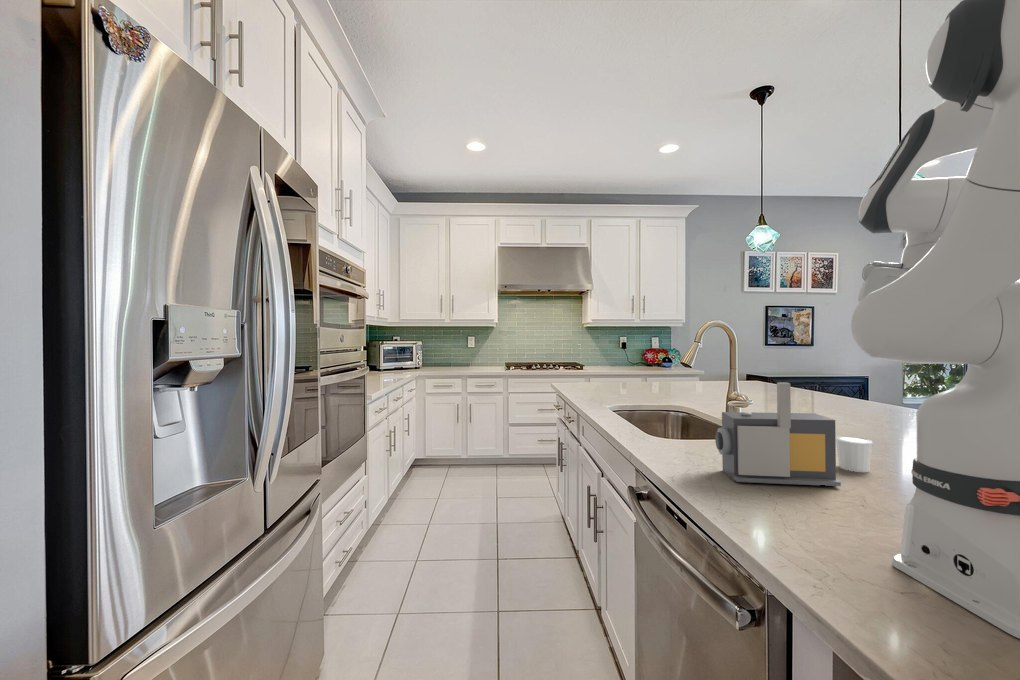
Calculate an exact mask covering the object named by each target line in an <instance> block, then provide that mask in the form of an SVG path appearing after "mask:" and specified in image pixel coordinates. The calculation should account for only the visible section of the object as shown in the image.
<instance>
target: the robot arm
mask: <svg viewBox="0 0 1020 680" xmlns="http://www.w3.org/2000/svg"><path fill="white" fill-rule="evenodd" d="M925 72H926V76H927V79H928V87H929V89H930V90H932V92H934V93H935V94H936V95H937V96H939V97H940V98H941V99H943V101H941V102H940V103H939V104H938V105H937V106H935V107H934V108H931V109H929V110H927V111H926V112H923V113H921V114H920V115H919V116H918V117H917V119H915V121H914V122H913V123H912V124H911V126H910V127H909V128H908V130H907V131H906V133H905V134H904V136H903V137H902V139H901V140H900V142H899V143H898V144H897V147H896V149H894V152H893V153H892V155H891V156H890V158H889V159H888V160H887V163H886V164H885V166H884V168H883V169H882V171H881V172H880V174H879V175H878V177H877V179H876V180H875V181H874V182H873V183H872V185H870V186H869V188H868V190H867V191H866V192H865V194H864V196H863V198H862V200H861V201H860V204H859V208H858V222H859V224H860V225H861V226H862V227H864V228H865V230H867V231H868V232H870V233H872V234H887V233H888V234H889V233H905V237H906V244H905V246H904V249H903V251H902V256H901V260H900V261H901V262H900V263H898V262H882V261H873V262H871V263H868V264H866V265H864V267H862V273H861V277H862V279H863V283H862V285H861V287H860V290H859V294H858V298H857V301H858V302H859V303H858V304H857V306H856V307H855V309H854V311H853V314H852V317H851V322H850V323H851V324H850V329H851V333H852V337H853V339H854V340H855V343H856V345H857V346H858V347H859V348H860V350H862V351H863V353H865V354H866V355H868V356H869V357H871V358H875V359H880V360H887V361H892V362H898V363H899V362H900V363H905V364H912V365H914V364H915V365H918V364H919V365H921V364H922V365H925V364H928V365H929V364H931V365H936V364H937V365H942V364H943V365H968V366H967V369H966V372H965V375H964V376H963V377H962V379H961V380H960V381H959V382H958V383H957V384H955V386H953V387H952V388H950V389H947V390H943V391H940V392H938V393H935V394H932V395H931V396H930V397H927V398H926V399H925V400H923V402H922V403H921V404H920V405H919V407H918V408H917V411H916V421H915V422H916V457H915V458H914V459H913V460H912V467H911V472H910V473H911V475H912V484H913V486H914V487H915V491H914V494H913V496H912V498H911V500H910V501H909V503H907V504H906V507H905V511H904V519H903V526H902V535H901V536H902V537H901V544H900V545H901V546H900V551H899V553H897V554H895V555H893V557H892V562H891V563H892V566H893V567H894V568H895V569H897V570H899V571H901V572H902V573H904V574H906V575H908V576H909V577H912V579H914V580H916V581H918V582H920V583H922V584H923V585H925V586H926V587H929V588H930V589H931V590H933V591H935V592H937V593H938V594H941V595H942V596H944V597H945V598H948V599H949V600H951V601H952V602H954V603H956V604H958V605H959V606H961V607H962V608H964V609H966V610H968V611H970V613H973V614H975V615H976V616H978V617H980V618H981V619H983V620H984V621H987V622H988V623H990V624H991V625H993V626H995V627H997V628H998V629H1000V630H1002V631H1004V632H1005V633H1007V634H1009V635H1011V636H1013V637H1014V638H1017V639H1019V640H1020V0H961V1H959V3H958V4H957V5H956V6H955V7H954V8H952V9H951V10H950V12H948V14H947V16H946V18H945V20H944V22H943V23H942V24H941V25H940V27H939V29H938V30H937V31H936V33H935V35H934V37H933V39H932V40H931V42H930V45H929V47H928V50H927V54H926V61H925ZM973 150H975V153H974V155H973V157H972V158H971V162H970V164H969V167H968V170H967V172H966V174H965V175H966V176H948V177H931V178H929V177H927V178H914V177H915V176H916V175H917V173H918V172H919V170H920V169H921V168H922V167H923V166H925V165H927V164H928V163H930V162H933V161H935V160H938V159H941V158H945V157H948V156H952V155H955V154H959V153H964V152H967V151H973Z"/></svg>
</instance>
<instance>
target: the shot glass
mask: <svg viewBox="0 0 1020 680" xmlns="http://www.w3.org/2000/svg"><path fill="white" fill-rule="evenodd" d="M835 438H836V448H837V449H836V450H837V451H836V452H837V458H838V466H839V468H840V469H842V470H845V471H848V470H849V471H848V472H853V471H854V473H869V472H870V470H871V469H870V468H871V461H872V450H873V440H871V439H867V438H863V437H855V436H835Z"/></svg>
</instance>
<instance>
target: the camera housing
mask: <svg viewBox="0 0 1020 680" xmlns="http://www.w3.org/2000/svg"><path fill="white" fill-rule="evenodd" d="M737 426H774V427H777V412H757V411H756V412H751V411H750V412H749V411H722V412H721V427H718V428H717V430H716V433H715V435H714V438H715V441H714V442H715V446H716V449H717V450H718V453H719V454H720V455H721V456H722V458H721V459H722V462H721V463H722V471H723V473H725V475H727V476H728V477H729V478H730V479H731V481H733V482H734V483H755V484H776V485H777V484H780V485H796V486H797V485H799V486H800V485H801V486H805V485H806V486H820V485H825V486H826V487H841V486H842V485H841V484H842V483H841V481H839V480H838V479H837V463H836V462H837V459H836V457H837V455H836V452H837V451H836V450H837V449H836V448H837V442H836V419H833V418H830V417H827V416H824V415H821V414H819V413H815V412H813V413H811V412H810V413H809V412H808V413H807V412H803V413H801V412H791V428H789V432H790V477H781V476H756V475H739V474H738V436H737ZM825 486H824V487H825Z"/></svg>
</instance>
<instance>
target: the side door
mask: <svg viewBox="0 0 1020 680" xmlns="http://www.w3.org/2000/svg"><path fill="white" fill-rule="evenodd" d="M776 404H777V405H776V411H777V412H776V413H777V427H774V426H737V436H738V474H739V475H756V476H781V477H790V432H789V428H791V413H792V412H791V409H792V408H791V404H792V403H791V383H790V382H776Z"/></svg>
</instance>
